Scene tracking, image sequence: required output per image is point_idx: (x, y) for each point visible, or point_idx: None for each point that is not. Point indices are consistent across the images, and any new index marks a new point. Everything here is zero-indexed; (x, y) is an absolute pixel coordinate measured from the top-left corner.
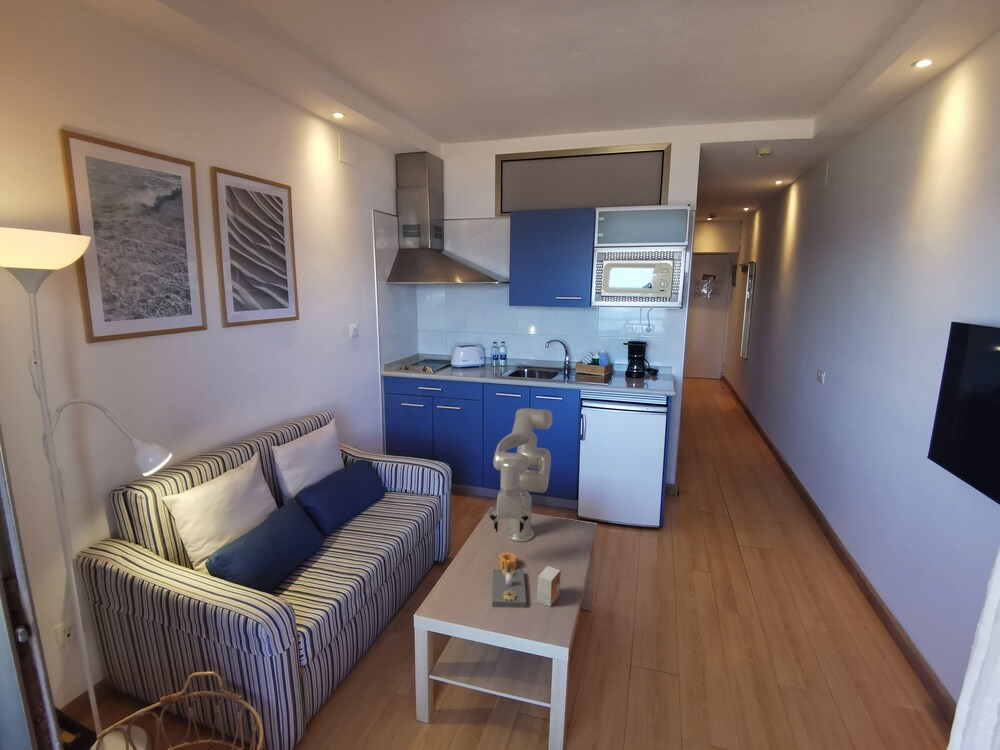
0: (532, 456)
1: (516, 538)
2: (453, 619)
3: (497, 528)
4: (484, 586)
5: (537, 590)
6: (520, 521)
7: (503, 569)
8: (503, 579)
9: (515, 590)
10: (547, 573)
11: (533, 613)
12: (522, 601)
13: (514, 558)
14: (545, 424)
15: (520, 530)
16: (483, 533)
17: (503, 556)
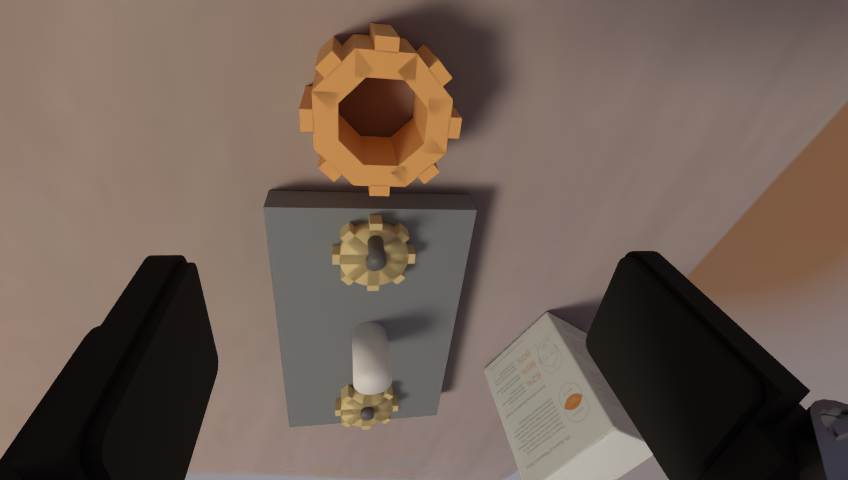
0: None
1: None
2: None
3: (197, 426)
4: (231, 299)
5: (500, 416)
6: (730, 437)
7: (340, 236)
8: (340, 299)
9: (400, 363)
10: (582, 477)
11: (454, 413)
12: (422, 412)
13: (435, 146)
14: None
15: (605, 368)
16: None
17: (341, 98)
